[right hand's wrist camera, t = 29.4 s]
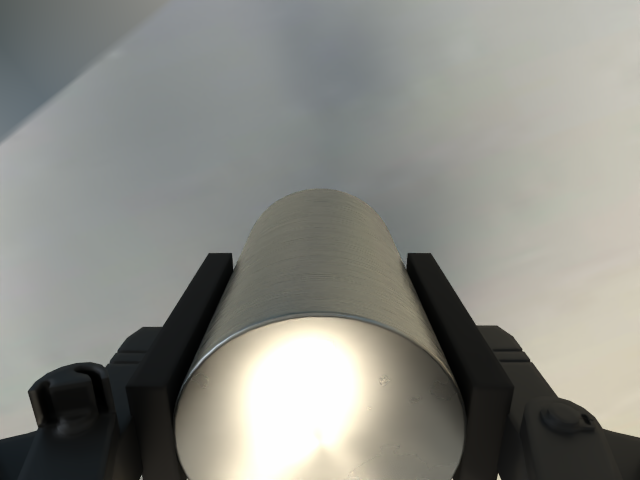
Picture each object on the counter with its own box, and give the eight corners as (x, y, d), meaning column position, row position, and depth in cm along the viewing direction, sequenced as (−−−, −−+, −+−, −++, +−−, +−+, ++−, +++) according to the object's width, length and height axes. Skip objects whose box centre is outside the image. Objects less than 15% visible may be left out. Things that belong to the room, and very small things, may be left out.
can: (236, 309, 18) (159, 522, 9) (259, 173, 16) (188, 284, 7) (372, 335, 18) (418, 561, 10) (412, 205, 16) (512, 346, 8)
